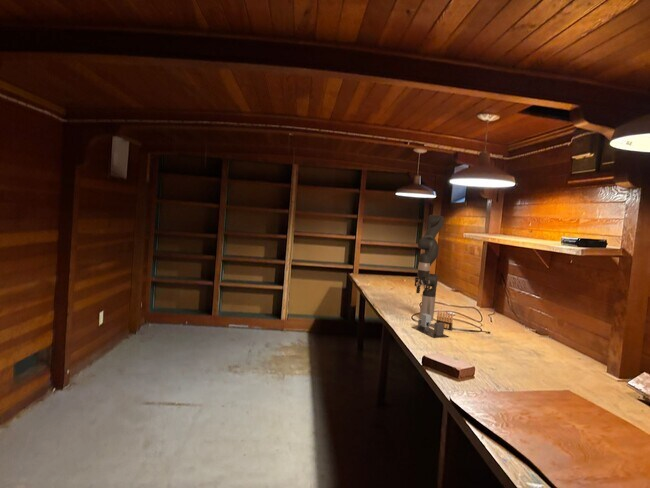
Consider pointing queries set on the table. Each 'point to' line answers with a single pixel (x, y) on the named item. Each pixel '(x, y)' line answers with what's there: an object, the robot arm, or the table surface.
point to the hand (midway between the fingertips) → (421, 294)
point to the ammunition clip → (445, 320)
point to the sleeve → (425, 320)
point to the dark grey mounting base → (430, 332)
